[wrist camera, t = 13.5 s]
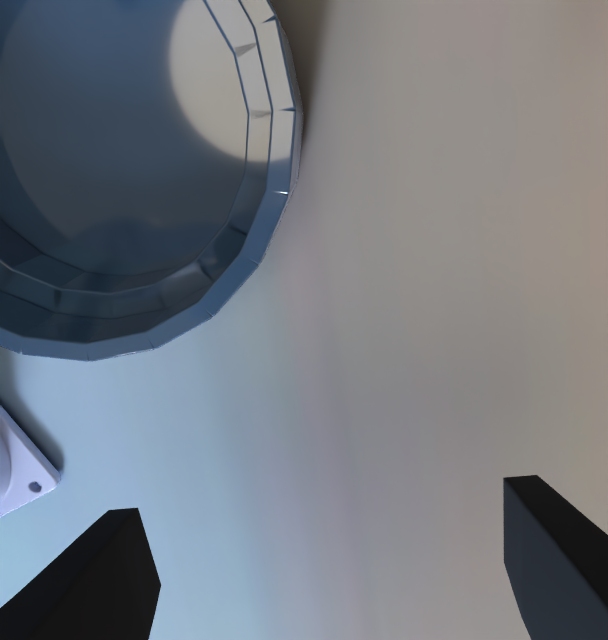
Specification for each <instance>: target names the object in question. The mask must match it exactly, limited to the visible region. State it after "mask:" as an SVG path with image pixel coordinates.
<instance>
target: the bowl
mask: <svg viewBox="0 0 608 640" xmlns="http://www.w3.org/2000/svg"><path fill="white" fill-rule="evenodd" d="M303 120H304V115H303V106H302V101H301V96H300V91H299V86H298V81H297V76H296V71H295V66H294V61H293V57H292V52H291V47H290V44H289V42H288V38H287V36H286V34H285V32H284V29H283V27H282V25H281V23H280V20H279V18H278V16H277V14H276V12H275V10H274V8H273V6H272V4H271V2H270V0H0V346H1V347H4V348H6V349H9V350H11V351H14V352H17V353H22V354H23V355H32V356H41V357H50V358H60V359H69V360H78V361H97V360H102V359H107V358H113V357H118V356H123V355H129V354H134V353H139V352H144V351H150V350H154V349H156V348H159V347H161V346H163V345H164V344H166V343H168V342H170V341H172V340H173V339H175V338H177V337H179V336H181V335H182V334H184V333H186V332H188V331H190V330H191V329H193V328H195V327H197V326H199V325H200V324H202V323H204V322H206V321H207V320H209V319H211V318H212V317H213V316H215V315H216V314H217V313H218V312H219V311H220V309H221V308H222V307H223V306H224V305H225V304H226V303H227V302H228V300H229V299H230V298H231V297H232V296H233V295H234V294H235V293H236V291H237V290H238V289H239V288H240V287H241V286H242V285H243V284H244V282H245V281H246V280H247V279H248V278H249V277H250V276H251V275H252V273H253V272H254V271H255V270H256V269H257V268H258V266H259V264H260V263H261V262H262V260H263V258H264V256H265V254H266V252H267V250H268V248H269V246H270V244H271V242H272V240H273V238H274V236H275V233H276V231H277V229H278V226H279V224H280V222H281V219H282V217H283V215H284V212H285V210H286V207H287V205H288V203H289V200H290V198H291V196H292V193H293V191H294V188H295V186H296V184H297V179H298V174H299V163H300V153H301V142H302V131H303Z"/></svg>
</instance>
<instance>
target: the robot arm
mask: <svg viewBox="0 0 608 640" xmlns="http://www.w3.org/2000/svg"><path fill="white" fill-rule="evenodd" d="M60 480H61V477H60V474H59V473H58V471H57V470H56V469H55V468H54V467H53V465H52V464H51V463H50V462H49V461H48V460H47V459H46V457H45V456H44V455H43V454H42V453H41V452H40V450H39V449H38V448H37V447H36V446H35V445H34V443H33V442H32V441H31V440H30V439H29V438H28V437H27V435H26V434H25V433H24V432H23V431H22V430H21V428H20V427H19V426H18V425H17V424H16V423H15V422H14V420H13V419H12V418H11V417H10V416H9V415H8V413H7V412H6V411H5V410H4V409H3V408H2V406H1V405H0V517H2V516H4V515H6V514H8V513H10V512H11V511H13V510H15V509H17V508H19V507H21V506H23V505H25V504H27V503H29V502H31V501H33V500H35V499H37V498H39V497H41V496H43V495H45V494H47V493H48V492H50V491H52V490H54V489H55V488H56V487H57V486H58V484H59V483H60ZM35 482H38V483H39V484H40V485H41V486H39V485H37V484H36V483H35ZM504 564H505V567H506V570H507V573H508V576H509V580H510V583H511V586H512V589H513V592H514V595H515V598H516V601H517V604H518V608H519V611H520V614H521V617H522V619H523V621H524V624H525V626H526V628H527V631H528V633H529V635H530V637H531V640H608V535H607V534H606V533H605V532H604V531H602V530H601V529H600V528H599V527H597V526H596V525H595V524H594V523H593V522H591V521H590V520H589V519H588V518H587V517H586V516H584V515H583V514H582V513H581V512H580V511H578V510H577V509H576V508H575V507H574V506H573V505H571V504H570V503H569V502H568V501H567V500H566V499H564V498H563V497H562V496H561V495H560V494H559V493H557V492H556V491H555V490H554V489H553V488H552V487H550V486H549V485H548V484H547V483H546V482H545V481H543V480H542V479H541V478H540V477H539V476H537V475H531V476H519V477H506V478H504ZM160 588H161V583H160V580H159V576H158V573H157V570H156V566H155V563H154V560H153V556H152V553H151V550H150V547H149V543H148V540H147V537H146V533H145V530H144V527H143V523H142V520H141V517H140V513H139V510H138V508H129V509H117V510H109V511H107V512H106V513H105V514H104V515H103V516H101V517H100V518H99V519H98V520H97V521H96V522H95V523H93V524H92V525H91V526H90V527H89V528H88V529H87V530H86V531H85V532H84V533H83V534H81V535H80V536H79V537H78V538H77V539H76V540H75V541H74V542H73V543H72V544H71V545H70V546H69V547H67V548H66V549H65V550H64V551H63V552H62V553H61V554H60V555H59V556H58V557H57V558H56V559H55V560H53V561H52V562H51V563H50V564H49V565H48V566H47V567H46V568H45V569H44V570H43V571H41V572H40V573H39V574H38V575H37V576H36V577H35V578H34V579H33V580H32V581H31V582H29V583H28V584H27V585H26V586H25V587H24V588H23V589H22V590H21V591H20V592H18V593H17V594H16V595H15V596H14V597H13V598H12V599H10V600H9V601H8V602H7V603H6V604H5V605H3V606H2V607H1V608H0V640H148V639H149V635H150V631H151V627H152V623H153V619H154V615H155V611H156V606H157V601H158V597H159V592H160Z"/></svg>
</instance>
